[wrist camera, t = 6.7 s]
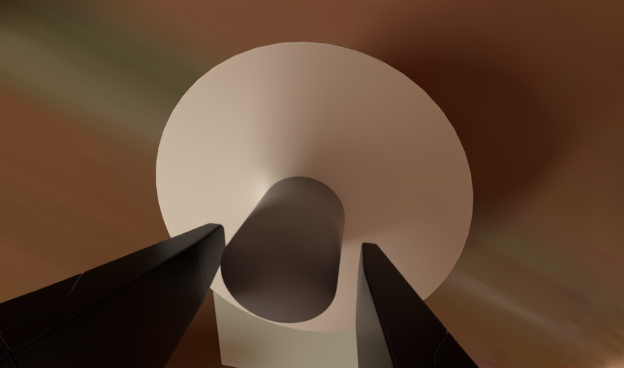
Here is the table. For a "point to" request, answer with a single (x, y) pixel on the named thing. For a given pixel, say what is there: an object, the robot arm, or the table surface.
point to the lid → (314, 179)
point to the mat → (278, 343)
